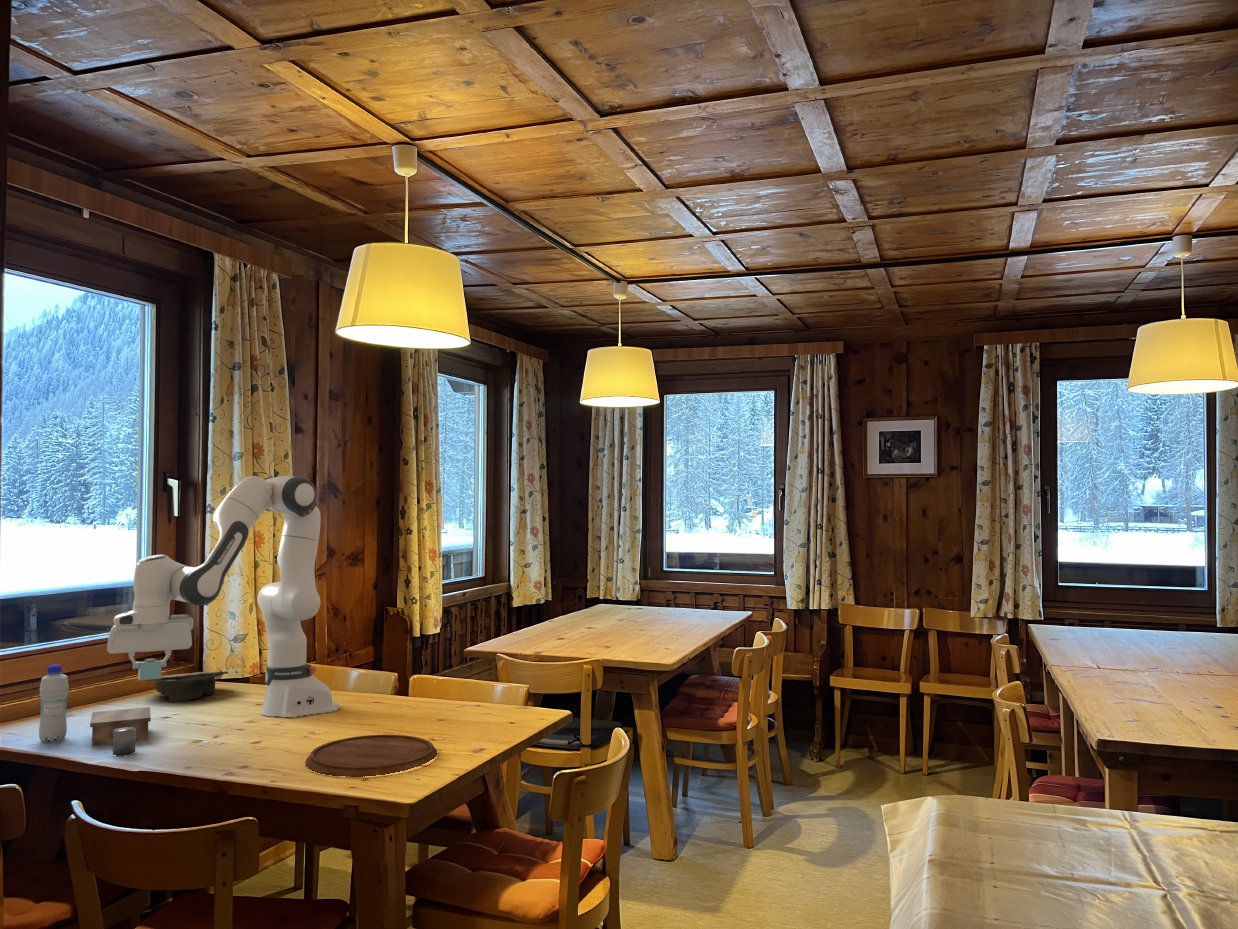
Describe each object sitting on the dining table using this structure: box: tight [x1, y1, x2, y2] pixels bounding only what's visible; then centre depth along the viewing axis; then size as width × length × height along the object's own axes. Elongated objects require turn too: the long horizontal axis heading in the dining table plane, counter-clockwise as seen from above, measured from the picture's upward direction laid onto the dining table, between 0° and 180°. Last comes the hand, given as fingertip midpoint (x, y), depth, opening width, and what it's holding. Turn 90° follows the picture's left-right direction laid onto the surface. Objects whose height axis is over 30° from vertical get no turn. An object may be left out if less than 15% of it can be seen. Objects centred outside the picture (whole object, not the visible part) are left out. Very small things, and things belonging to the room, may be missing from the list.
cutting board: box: [304, 734, 439, 777], centre depth 227 cm, size 32×32×2 cm
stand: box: [89, 706, 152, 747], centre depth 245 cm, size 14×14×6 cm
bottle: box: [38, 664, 70, 743], centre depth 243 cm, size 7×7×20 cm
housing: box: [137, 657, 162, 681], centre depth 242 cm, size 5×9×5 cm, turn 30°
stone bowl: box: [144, 670, 229, 703], centre depth 297 cm, size 25×25×9 cm
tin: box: [112, 727, 137, 757], centre depth 230 cm, size 5×5×6 cm
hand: (149, 668), depth 243 cm, fingers closed on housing, 5 cm apart
